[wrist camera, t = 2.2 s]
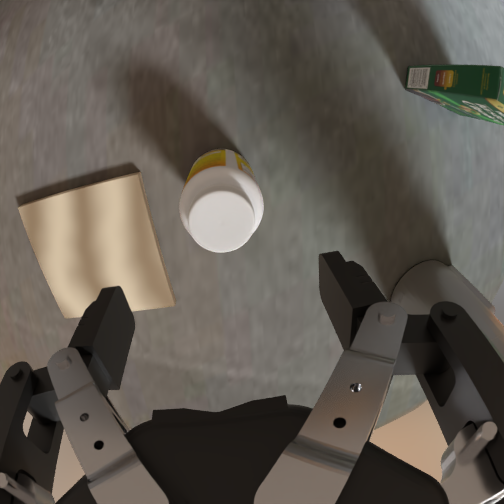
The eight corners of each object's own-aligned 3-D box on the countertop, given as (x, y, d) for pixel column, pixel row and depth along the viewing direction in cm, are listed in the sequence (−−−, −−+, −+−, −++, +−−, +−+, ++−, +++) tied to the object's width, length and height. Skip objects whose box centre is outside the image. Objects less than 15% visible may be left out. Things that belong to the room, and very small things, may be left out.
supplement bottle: (181, 196, 28) (162, 248, 19) (202, 138, 26) (191, 162, 17) (239, 216, 29) (247, 275, 20) (262, 161, 27) (284, 196, 18)
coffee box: (400, 90, 25) (498, 102, 13) (405, 63, 23) (504, 62, 12) (458, 116, 26) (552, 144, 14) (463, 92, 25) (558, 111, 13)
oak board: (140, 171, 26) (137, 174, 26) (176, 300, 33) (174, 305, 32) (22, 204, 26) (18, 207, 25) (67, 313, 33) (65, 318, 32)
